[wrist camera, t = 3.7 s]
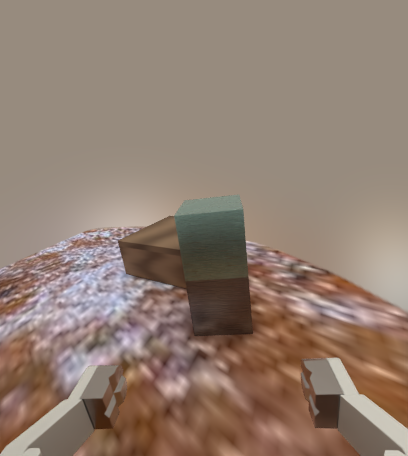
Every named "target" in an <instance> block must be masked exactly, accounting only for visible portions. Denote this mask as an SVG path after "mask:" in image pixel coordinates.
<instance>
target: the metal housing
mask: <svg viewBox="0 0 408 456" xmlns="http://www.w3.org/2000/svg"><path fill="white" fill-rule="evenodd" d="M174 218H175V224H176V230H177V236H178V241H179V247H180V253H181V259H182V265H183V270H184V276H185V282H186V288H187V294H188V299H189V305H190V311H191V317H192V323H193V328H194V334H195V336H209V335H232V334H253V331H252V318H251V305H250V292H249V279H248V266H247V253H246V240H245V227H244V214H243V207H242V203H241V200H240V196H239V195H233V196H222V197H213V198H204V199H194V200H185V201H184V202H183V204H182V205H181V207H180V208H179V210H178V211H177V213H176V214H175V216H174Z"/></svg>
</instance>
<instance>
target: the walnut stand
mask: <svg viewBox="0 0 408 456" xmlns="http://www.w3.org/2000/svg"><path fill="white" fill-rule="evenodd" d="M118 243H119V247H120V251H121V255H122V259H123V263H124V266H125V270H126V274H129V275H133V276H137V277H141V278H145V279H150V280H154V281H158V282H162V283H166V284H170V285H174V286H178V287H182V288H186V282H185V276H184V270H183V265H182V259H181V253H180V247H179V241H178V236H177V230H176V224H175V218H174V216H169V217H167V218H164V219H162V220H160V221H158V222H156V223H154V224H152V225H150V226H148V227H146V228H143V229H141V230H139V231H137V232H135V233H133V234H131V235H129V236H127V237H125V238H123V239H120V240H118ZM186 289H187V288H186Z"/></svg>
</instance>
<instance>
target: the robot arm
mask: <svg viewBox="0 0 408 456" xmlns="http://www.w3.org/2000/svg"><path fill="white" fill-rule="evenodd" d="M301 368H302V371H303V372H302V373H301V383H302V389H303V393H304V396H305V399H306V400H307V401H308V402H309V412H310V415H311V418H312V421H313V424H314V427H315V428H333V429H338V431H339V432H340V433H341V434H342V435H343V436H344V438H345V439H346V440H347V441H348V442H349V443H350V444H351V445H352V446H353V448H354V449H355V450H356V451H357V452H358V453H359V454H360V455H361V456H408V429H407V428H406V427H404V426H403V425H402V424H400V423H399V422H398V421H397V420H395V419H394V418H393V417H391V416H390V415H389V414H388V413H386V412H385V411H384V410H382V409H381V408H380V407H379V406H377V405H376V404H375V403H373V402H372V401H371V400H370V399H368V398H367V397H366V396H364V395H359V393H358V391H357V389H356V387H355V386H354V384H353V382H352V380H351V378H350V376H349V375H348V373H347V371H346V369H345V367H344V366H343V364H342V362H341V360H340V359H339V358H326V359H325V358H317V359H302V360H301ZM122 373H123V369H122V366H89V367H88V368H86V370H85V372H84V373H83V375H82V377H81V378H80V380H79V382H78V383H77V385H76V386H75V388H74V390H73V391H72V393H71V395H70V396H69V398H68V400H64V401H62V402H61V403H60V404H59V405H57V406H56V407H55V408H54V409H52V410H51V411H50V412H49V413H47V414H46V415H45V416H44V417H42V418H41V419H40V420H39V421H37V422H36V423H35V424H34V425H32V426H31V427H30V428H29V429H27V430H26V431H25V432H24V433H22V434H21V435H20V436H19V437H17V438H16V439H15V440H14V441H12V442H11V443H10V444H9V445H7V446H6V447H5V449H4V450H3V451H2V453H1V454H0V456H73V455H74V454H75V452H76V451H77V450H78V449H79V448H80V447H81V445H82V444H83V443H84V442H85V441H86V440H87V439H88V437H89V436H90V435H91V434H92V433H93V432H94V429H113V428H114V425H115V423H116V420H117V418H118V415H119V408H118V407H119V406H120V405H121V404H122V403H123V402H124V399H125V396H126V391H127V382H126V378H125V377H123V376H122Z"/></svg>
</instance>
